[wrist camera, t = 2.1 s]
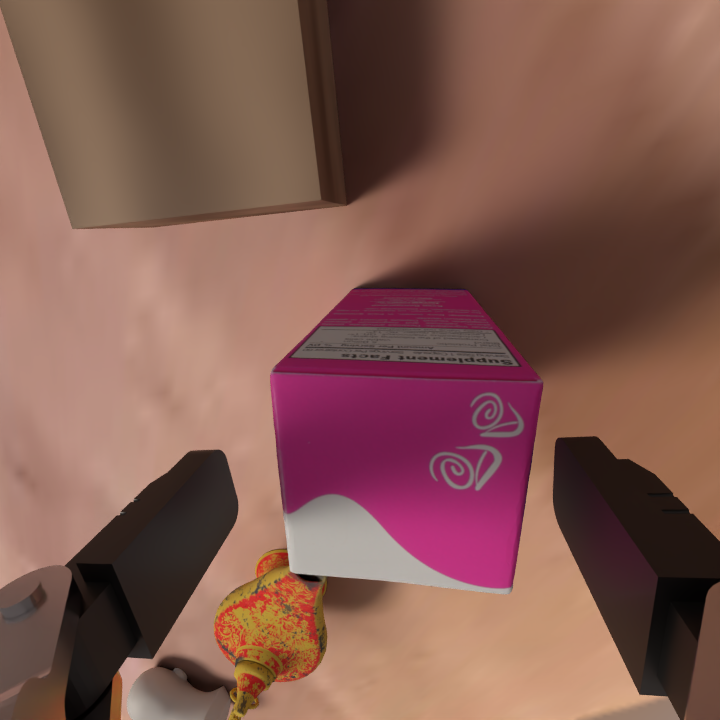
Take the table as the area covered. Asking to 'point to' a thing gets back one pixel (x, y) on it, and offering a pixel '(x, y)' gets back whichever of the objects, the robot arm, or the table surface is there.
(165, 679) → the smooth white sculpture
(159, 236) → the table surface
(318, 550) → the supplement box
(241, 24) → the block
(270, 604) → the magic lamp
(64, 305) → the table surface
